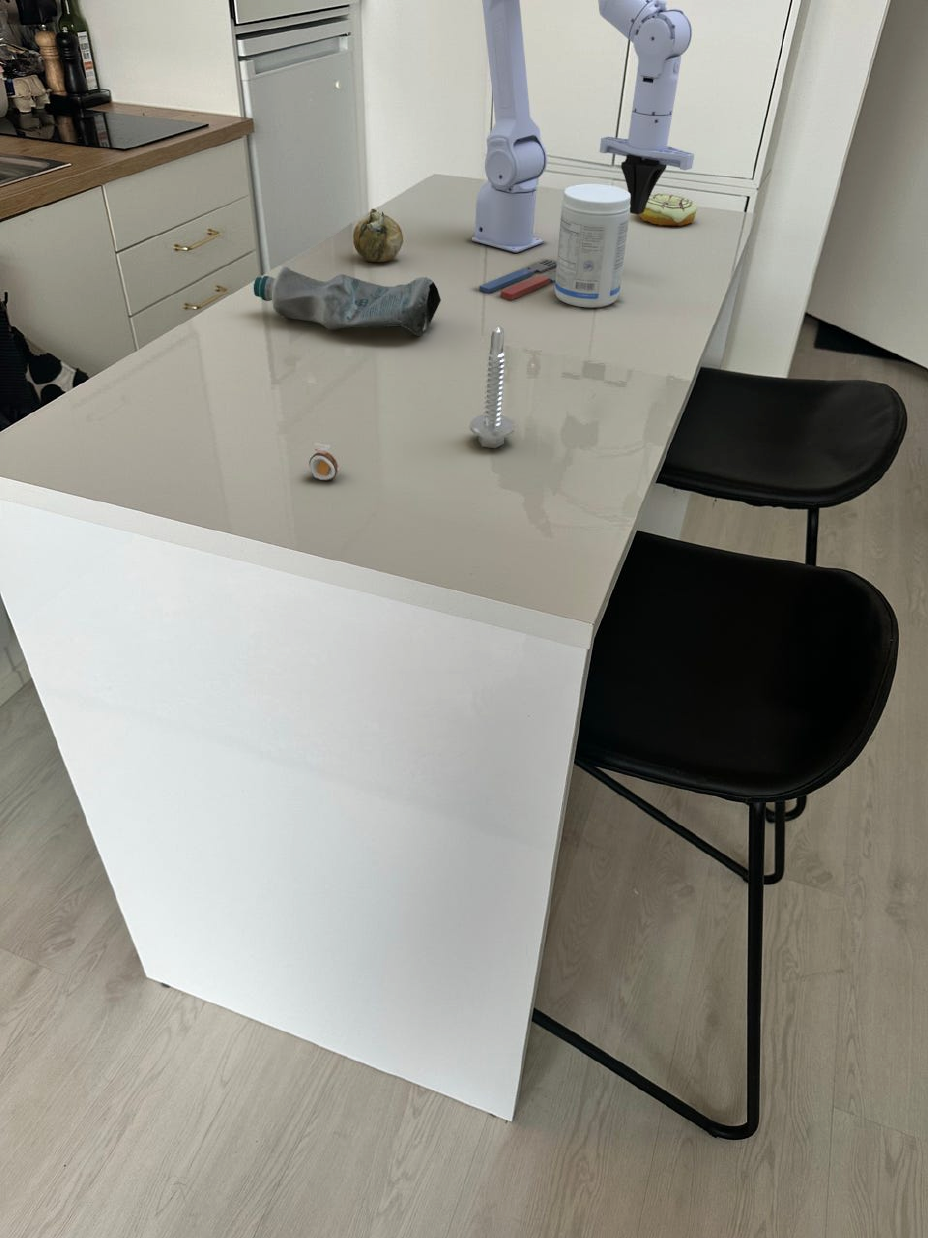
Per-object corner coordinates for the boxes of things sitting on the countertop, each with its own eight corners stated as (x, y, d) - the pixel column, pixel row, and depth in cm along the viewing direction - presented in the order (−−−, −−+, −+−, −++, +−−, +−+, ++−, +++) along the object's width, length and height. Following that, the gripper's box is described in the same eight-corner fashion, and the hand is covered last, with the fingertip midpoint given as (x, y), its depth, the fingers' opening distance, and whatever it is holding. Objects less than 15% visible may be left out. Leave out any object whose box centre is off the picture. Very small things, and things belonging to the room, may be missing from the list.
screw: (504, 430, 102) (519, 450, 99) (463, 434, 101) (476, 455, 98) (513, 314, 94) (529, 332, 91) (468, 318, 93) (482, 336, 89)
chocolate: (345, 474, 93) (343, 439, 91) (335, 485, 92) (333, 449, 89) (318, 468, 94) (316, 433, 92) (308, 478, 93) (305, 443, 90)
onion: (412, 262, 146) (413, 209, 141) (368, 270, 142) (367, 215, 137) (388, 249, 151) (387, 197, 146) (345, 256, 147) (343, 203, 142)
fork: (490, 294, 136) (491, 289, 136) (477, 289, 137) (477, 285, 137) (559, 265, 148) (560, 260, 147) (546, 261, 149) (547, 256, 148)
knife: (511, 300, 134) (512, 294, 134) (500, 296, 135) (500, 290, 135) (585, 268, 147) (585, 262, 146) (574, 265, 148) (574, 259, 147)
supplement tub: (592, 283, 141) (604, 179, 132) (631, 303, 135) (647, 196, 126) (540, 292, 137) (549, 186, 128) (578, 313, 131) (591, 204, 122)
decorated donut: (686, 231, 165) (690, 209, 162) (628, 222, 168) (631, 200, 166) (699, 217, 172) (703, 195, 170) (644, 208, 175) (647, 187, 173)
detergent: (447, 316, 128) (278, 290, 132) (449, 265, 123) (273, 240, 127) (422, 359, 119) (241, 331, 122) (422, 306, 114) (233, 278, 118)
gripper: (710, 116, 130) (692, 217, 139) (622, 100, 137) (609, 197, 146) (687, 122, 126) (669, 226, 135) (597, 106, 133) (585, 206, 141)
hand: (636, 212), depth 140 cm, fingers closed
